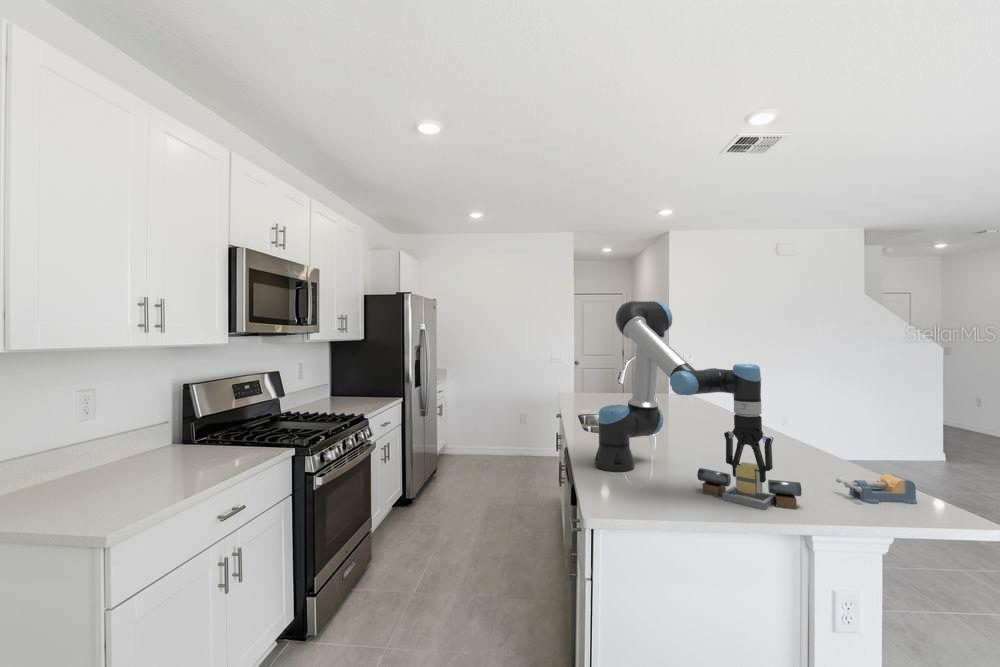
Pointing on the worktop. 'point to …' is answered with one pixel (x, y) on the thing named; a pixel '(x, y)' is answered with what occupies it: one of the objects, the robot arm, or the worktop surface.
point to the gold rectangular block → (747, 477)
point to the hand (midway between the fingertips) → (749, 489)
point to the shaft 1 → (713, 481)
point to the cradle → (767, 498)
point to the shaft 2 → (784, 493)
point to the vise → (883, 490)
